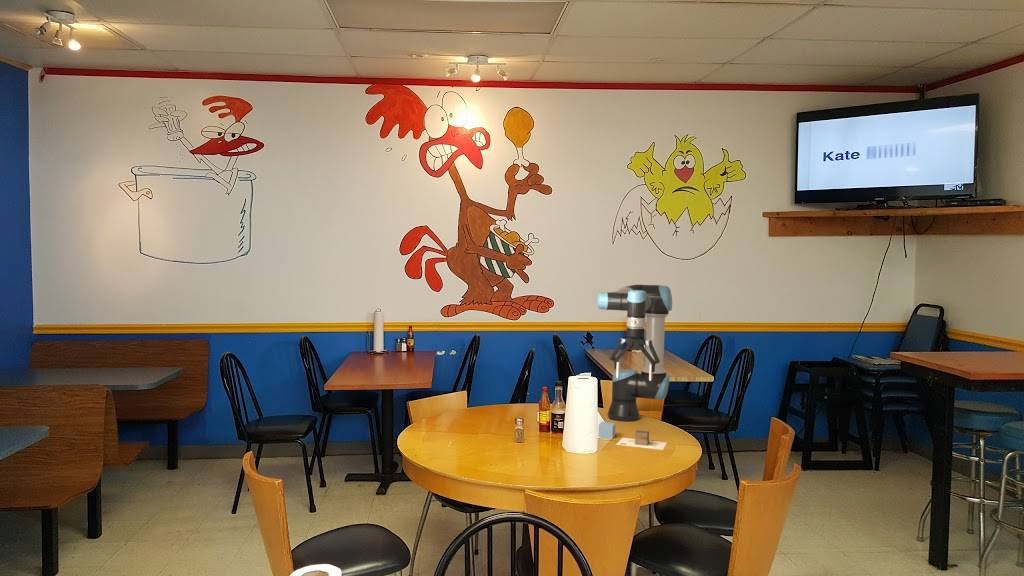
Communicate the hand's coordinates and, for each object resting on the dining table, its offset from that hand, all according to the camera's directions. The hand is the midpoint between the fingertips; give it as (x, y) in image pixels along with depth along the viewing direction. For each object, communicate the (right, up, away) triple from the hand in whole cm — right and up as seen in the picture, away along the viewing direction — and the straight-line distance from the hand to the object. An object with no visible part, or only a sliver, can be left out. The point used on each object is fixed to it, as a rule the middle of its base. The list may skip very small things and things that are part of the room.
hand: (634, 378), depth 312 cm
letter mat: (+4, -28, +3) cm, 28 cm away
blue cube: (-10, -27, +13) cm, 32 cm away
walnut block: (+4, -27, +3) cm, 28 cm away
